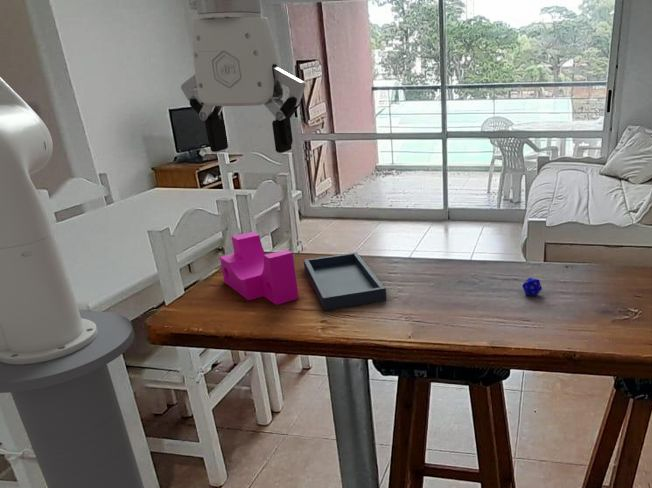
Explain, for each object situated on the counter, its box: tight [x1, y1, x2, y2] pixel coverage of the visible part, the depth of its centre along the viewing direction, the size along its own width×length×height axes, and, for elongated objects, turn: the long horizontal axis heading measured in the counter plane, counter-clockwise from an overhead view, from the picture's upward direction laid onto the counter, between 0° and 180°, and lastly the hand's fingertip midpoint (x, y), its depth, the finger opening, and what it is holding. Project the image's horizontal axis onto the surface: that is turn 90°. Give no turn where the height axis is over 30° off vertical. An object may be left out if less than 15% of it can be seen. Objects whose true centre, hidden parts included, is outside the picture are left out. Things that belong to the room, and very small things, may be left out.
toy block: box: [219, 231, 299, 306], centre depth 91 cm, size 15×6×8 cm, turn 38°
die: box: [521, 277, 543, 297], centre depth 87 cm, size 3×3×3 cm
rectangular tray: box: [303, 252, 387, 311], centre depth 93 cm, size 10×19×2 cm, turn 19°
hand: (251, 150), depth 77 cm, fingers open, 9 cm apart
